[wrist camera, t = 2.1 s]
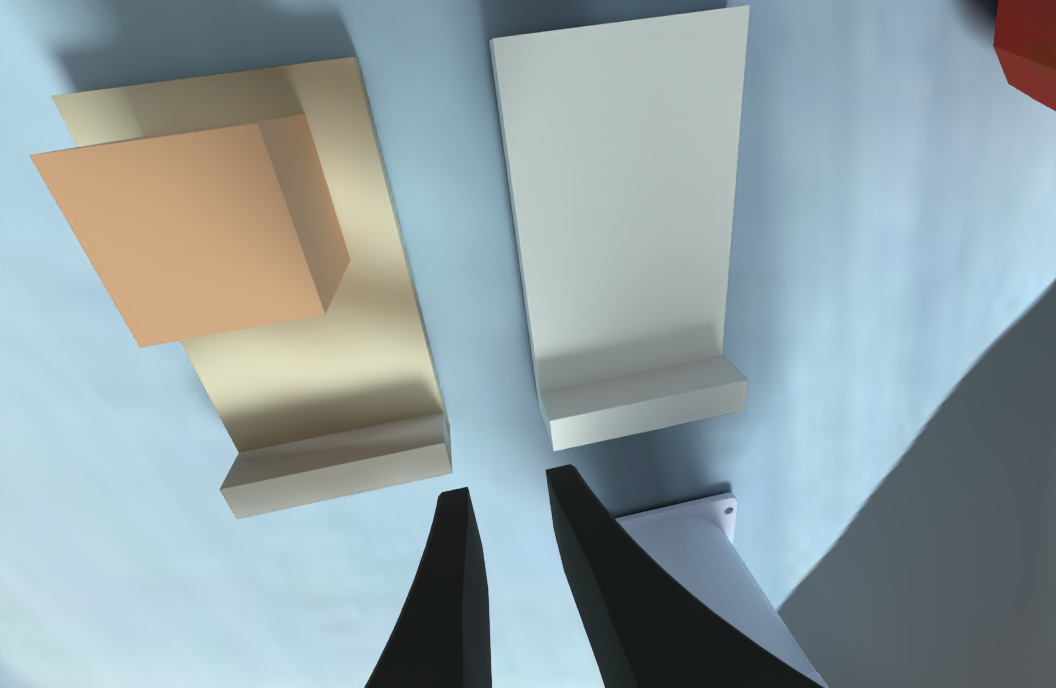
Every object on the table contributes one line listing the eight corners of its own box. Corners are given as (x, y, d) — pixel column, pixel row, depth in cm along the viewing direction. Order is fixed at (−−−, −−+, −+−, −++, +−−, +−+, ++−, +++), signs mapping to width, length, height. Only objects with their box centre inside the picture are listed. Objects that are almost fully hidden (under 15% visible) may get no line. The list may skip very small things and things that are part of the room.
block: (350, 260, 16) (325, 314, 13) (211, 284, 16) (139, 347, 12) (305, 113, 14) (257, 123, 10) (142, 136, 14) (28, 155, 10)
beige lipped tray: (449, 426, 21) (452, 472, 19) (261, 464, 21) (236, 519, 18) (358, 58, 15) (342, 52, 12) (74, 95, 14) (-8, 96, 11)
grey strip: (708, 373, 23) (744, 410, 20) (538, 407, 22) (553, 451, 19) (732, 9, 16) (791, -7, 13) (489, 41, 15) (501, 31, 13)
